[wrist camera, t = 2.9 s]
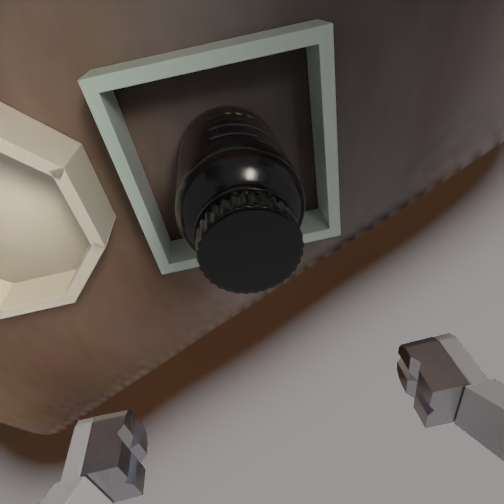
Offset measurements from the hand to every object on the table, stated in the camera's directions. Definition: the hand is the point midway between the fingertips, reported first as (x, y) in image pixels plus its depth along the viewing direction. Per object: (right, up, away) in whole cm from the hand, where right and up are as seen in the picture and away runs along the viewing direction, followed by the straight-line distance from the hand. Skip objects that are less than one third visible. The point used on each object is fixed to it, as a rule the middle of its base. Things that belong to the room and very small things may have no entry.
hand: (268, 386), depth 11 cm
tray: (-2, +11, +14) cm, 18 cm away
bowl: (-18, +7, +14) cm, 24 cm away
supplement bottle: (-2, +11, +15) cm, 18 cm away
